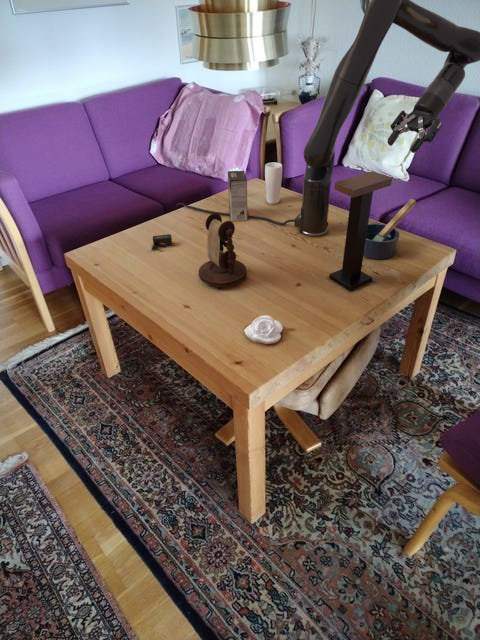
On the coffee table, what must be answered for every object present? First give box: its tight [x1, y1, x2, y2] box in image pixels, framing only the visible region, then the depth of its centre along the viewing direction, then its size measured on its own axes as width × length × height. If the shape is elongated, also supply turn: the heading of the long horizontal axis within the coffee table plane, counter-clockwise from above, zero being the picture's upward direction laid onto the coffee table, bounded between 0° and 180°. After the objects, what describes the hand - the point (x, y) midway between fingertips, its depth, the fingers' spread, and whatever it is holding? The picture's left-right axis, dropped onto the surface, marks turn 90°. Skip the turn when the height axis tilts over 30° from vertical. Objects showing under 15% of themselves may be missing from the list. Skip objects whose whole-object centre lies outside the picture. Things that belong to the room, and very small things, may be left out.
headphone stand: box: [328, 170, 393, 292], centre depth 134 cm, size 14×9×31 cm, turn 124°
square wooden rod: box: [373, 198, 417, 241], centre depth 155 cm, size 22×3×2 cm
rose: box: [244, 315, 283, 345], centre depth 122 cm, size 10×4×10 cm
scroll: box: [198, 213, 248, 290], centre depth 140 cm, size 15×15×20 cm
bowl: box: [363, 223, 400, 260], centre depth 156 cm, size 13×13×6 cm
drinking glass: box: [264, 162, 283, 205], centre depth 187 cm, size 7×7×15 cm
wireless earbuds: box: [151, 233, 173, 251], centre depth 162 cm, size 5×7×3 cm, turn 101°
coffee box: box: [227, 170, 248, 222], centre depth 177 cm, size 9×6×16 cm
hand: (400, 147), depth 139 cm, fingers open, 8 cm apart
